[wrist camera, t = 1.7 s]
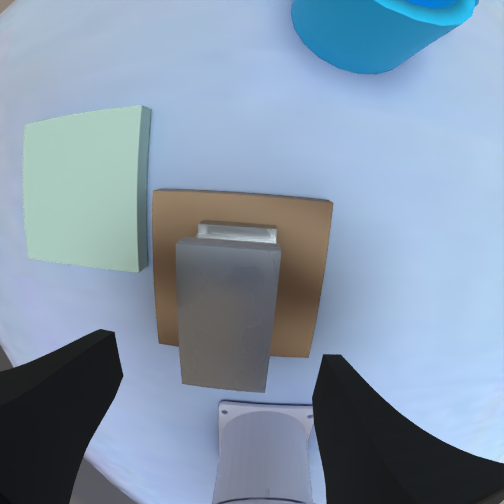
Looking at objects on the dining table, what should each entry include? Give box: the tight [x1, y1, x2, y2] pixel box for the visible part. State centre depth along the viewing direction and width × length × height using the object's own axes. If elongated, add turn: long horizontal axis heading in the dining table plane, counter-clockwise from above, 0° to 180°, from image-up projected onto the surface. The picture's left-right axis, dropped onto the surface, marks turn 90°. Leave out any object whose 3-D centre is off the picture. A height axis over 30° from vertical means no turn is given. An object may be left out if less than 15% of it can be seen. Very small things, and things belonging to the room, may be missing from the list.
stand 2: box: [152, 189, 333, 358], centre depth 18 cm, size 10×10×2 cm
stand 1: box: [23, 105, 151, 273], centre depth 17 cm, size 10×10×2 cm
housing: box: [176, 220, 281, 393], centre depth 14 cm, size 7×4×5 cm, turn 176°
